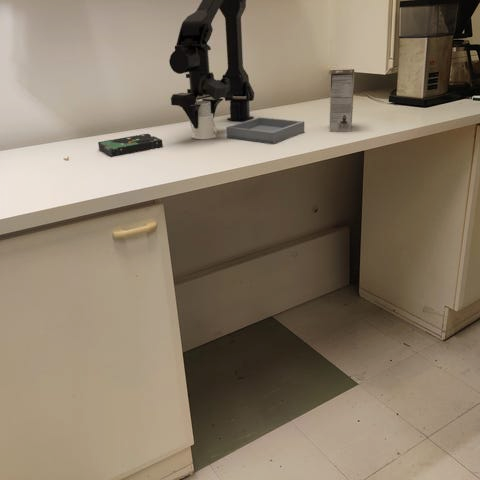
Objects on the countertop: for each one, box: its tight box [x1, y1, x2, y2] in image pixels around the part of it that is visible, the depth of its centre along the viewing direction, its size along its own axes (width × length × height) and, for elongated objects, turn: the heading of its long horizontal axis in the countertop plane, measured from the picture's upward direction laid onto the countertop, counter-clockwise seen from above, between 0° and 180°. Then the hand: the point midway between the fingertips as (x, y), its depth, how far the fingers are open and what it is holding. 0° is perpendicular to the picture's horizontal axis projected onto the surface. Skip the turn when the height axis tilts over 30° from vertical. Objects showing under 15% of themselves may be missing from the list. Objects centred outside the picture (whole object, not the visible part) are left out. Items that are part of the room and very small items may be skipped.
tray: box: [226, 116, 305, 145], centre depth 138 cm, size 16×16×3 cm
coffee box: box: [329, 68, 355, 132], centre depth 139 cm, size 9×6×16 cm
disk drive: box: [97, 133, 164, 158], centre depth 131 cm, size 10×3×15 cm
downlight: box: [189, 100, 218, 140], centre depth 138 cm, size 8×7×10 cm
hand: (203, 126), depth 139 cm, fingers closed on downlight, 6 cm apart
